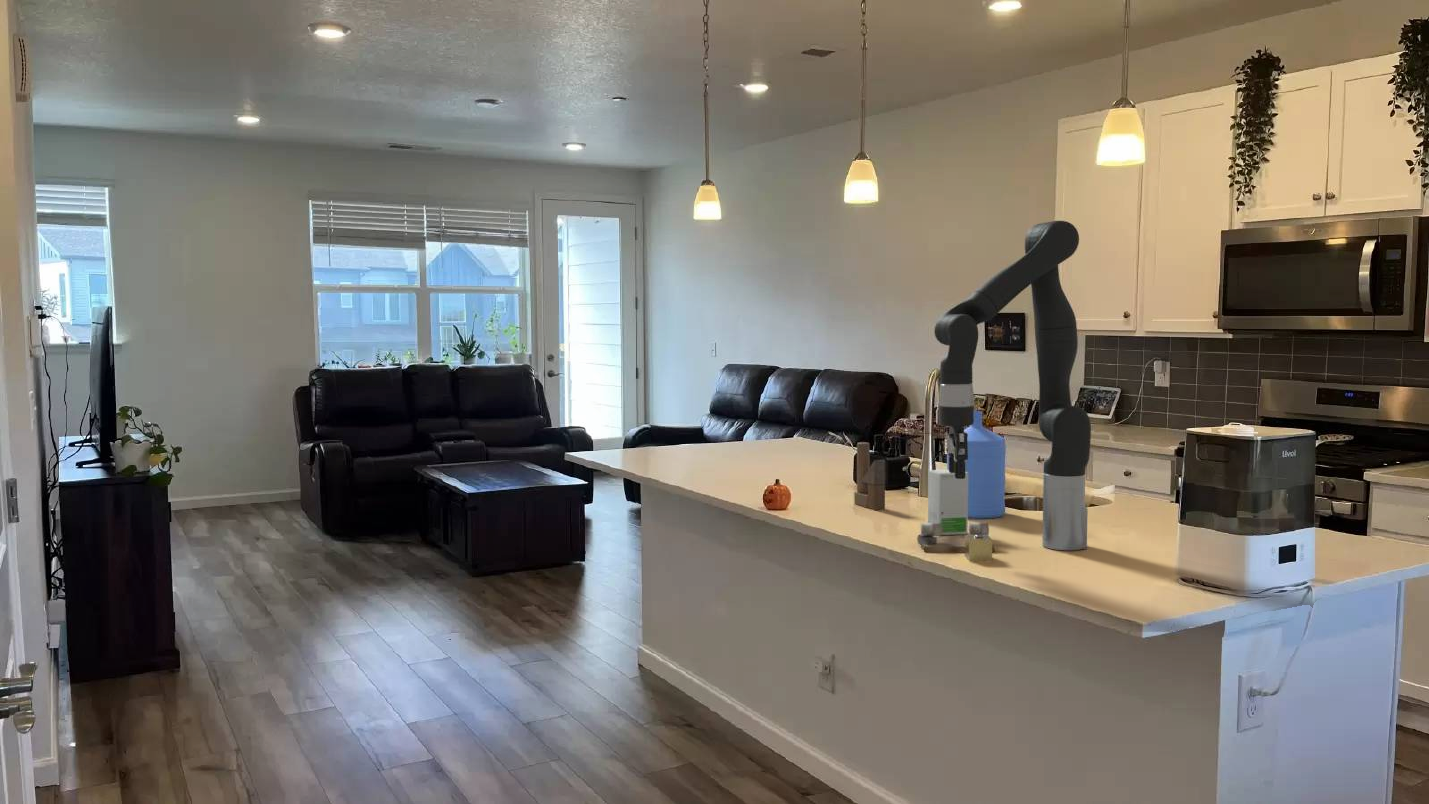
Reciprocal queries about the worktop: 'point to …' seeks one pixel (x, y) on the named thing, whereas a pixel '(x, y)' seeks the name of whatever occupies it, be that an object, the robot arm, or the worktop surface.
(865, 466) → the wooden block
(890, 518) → the worktop surface
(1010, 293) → the robot arm
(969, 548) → the joint block
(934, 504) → the skincare box
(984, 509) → the water jug
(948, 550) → the rig
